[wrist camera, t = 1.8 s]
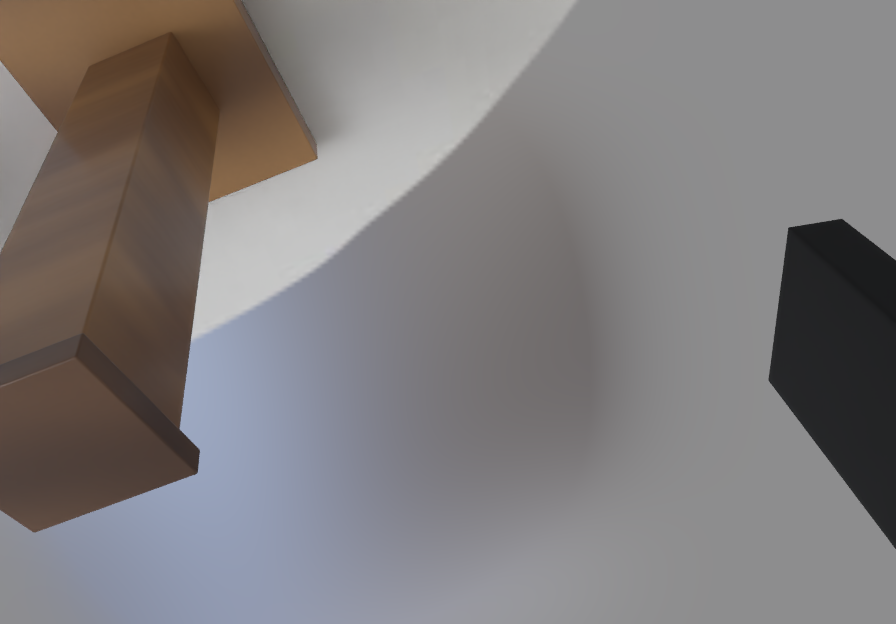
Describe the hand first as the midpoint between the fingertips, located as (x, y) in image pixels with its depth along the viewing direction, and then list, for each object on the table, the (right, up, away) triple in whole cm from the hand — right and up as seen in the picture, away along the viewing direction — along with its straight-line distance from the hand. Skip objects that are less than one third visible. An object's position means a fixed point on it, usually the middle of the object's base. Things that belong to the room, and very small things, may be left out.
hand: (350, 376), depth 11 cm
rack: (-15, +11, +23) cm, 29 cm away
